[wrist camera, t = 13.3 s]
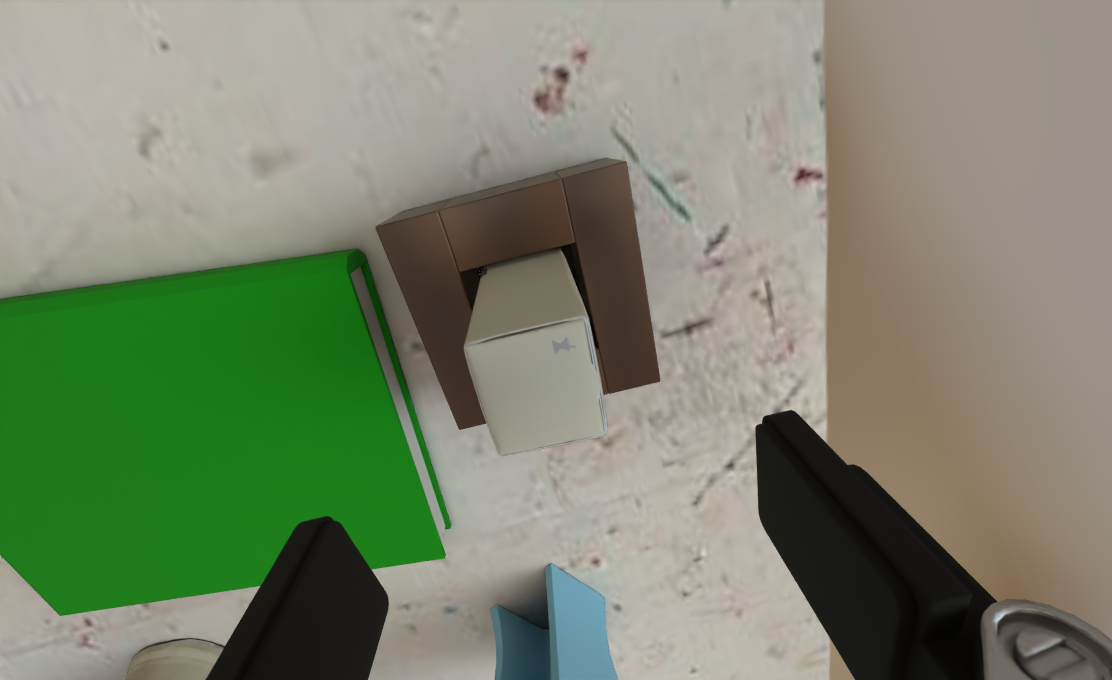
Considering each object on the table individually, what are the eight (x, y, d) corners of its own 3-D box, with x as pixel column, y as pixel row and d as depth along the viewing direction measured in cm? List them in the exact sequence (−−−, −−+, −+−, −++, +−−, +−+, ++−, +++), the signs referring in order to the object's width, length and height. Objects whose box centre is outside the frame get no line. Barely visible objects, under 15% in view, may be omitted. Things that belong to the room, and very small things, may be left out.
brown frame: (606, 157, 24) (626, 160, 19) (638, 344, 29) (660, 381, 24) (402, 211, 24) (374, 226, 20) (468, 385, 29) (458, 430, 24)
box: (485, 246, 25) (453, 336, 14) (558, 231, 25) (589, 307, 13) (506, 327, 27) (495, 463, 16) (574, 313, 27) (612, 439, 16)
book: (451, 525, 34) (444, 558, 31) (97, 577, 34) (59, 615, 31) (362, 245, 25) (342, 258, 22) (-132, 315, 24) (-214, 337, 22)
